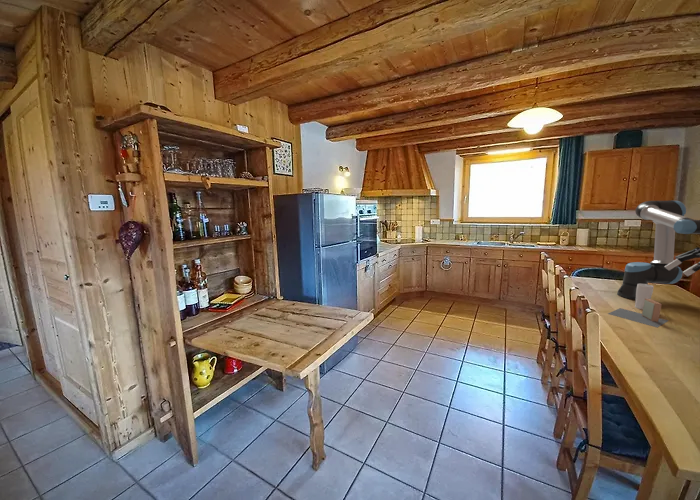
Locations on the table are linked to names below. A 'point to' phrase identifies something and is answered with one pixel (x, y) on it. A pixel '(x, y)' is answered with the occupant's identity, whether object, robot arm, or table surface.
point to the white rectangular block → (643, 294)
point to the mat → (637, 317)
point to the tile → (651, 310)
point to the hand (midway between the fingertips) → (675, 271)
